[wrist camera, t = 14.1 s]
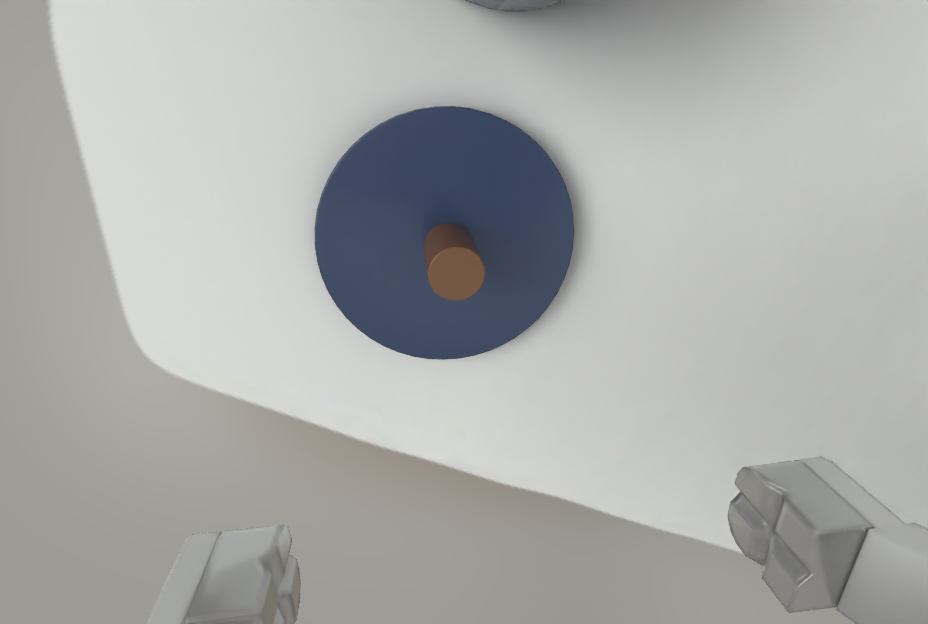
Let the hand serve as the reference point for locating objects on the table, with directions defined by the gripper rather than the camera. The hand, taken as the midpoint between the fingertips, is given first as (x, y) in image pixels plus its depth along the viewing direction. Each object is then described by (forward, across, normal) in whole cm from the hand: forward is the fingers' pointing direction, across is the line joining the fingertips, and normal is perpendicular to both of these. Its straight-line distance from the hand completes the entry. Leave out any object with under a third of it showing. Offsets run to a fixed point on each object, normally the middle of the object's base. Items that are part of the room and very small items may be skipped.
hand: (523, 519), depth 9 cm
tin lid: (+18, 0, 0) cm, 18 cm away
